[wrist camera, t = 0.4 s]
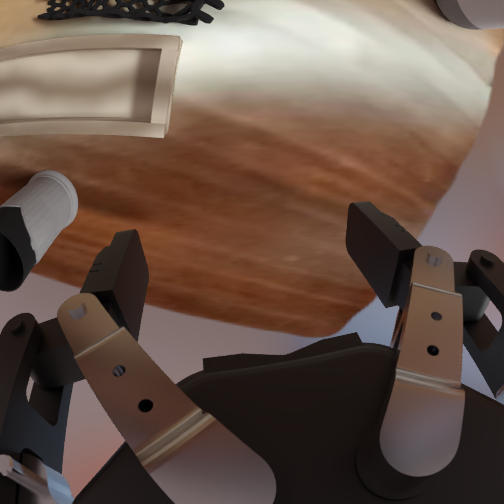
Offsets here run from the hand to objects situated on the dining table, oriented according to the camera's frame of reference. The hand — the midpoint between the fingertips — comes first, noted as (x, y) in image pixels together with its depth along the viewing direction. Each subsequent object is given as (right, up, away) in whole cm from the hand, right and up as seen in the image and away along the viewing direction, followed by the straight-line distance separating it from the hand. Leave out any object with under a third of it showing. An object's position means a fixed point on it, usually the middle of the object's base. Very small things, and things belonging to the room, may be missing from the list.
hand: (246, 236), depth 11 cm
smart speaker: (+30, +37, +15) cm, 49 cm away
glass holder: (-30, +6, +23) cm, 38 cm away
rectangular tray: (-22, +19, +16) cm, 33 cm away
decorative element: (-14, +28, +13) cm, 34 cm away
